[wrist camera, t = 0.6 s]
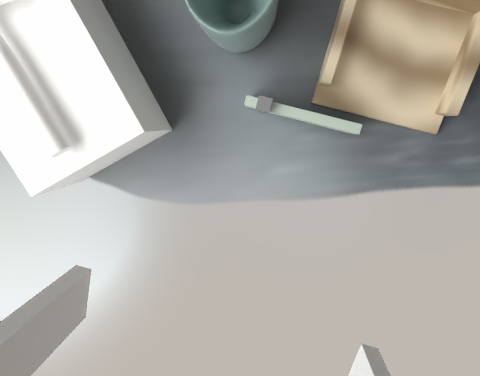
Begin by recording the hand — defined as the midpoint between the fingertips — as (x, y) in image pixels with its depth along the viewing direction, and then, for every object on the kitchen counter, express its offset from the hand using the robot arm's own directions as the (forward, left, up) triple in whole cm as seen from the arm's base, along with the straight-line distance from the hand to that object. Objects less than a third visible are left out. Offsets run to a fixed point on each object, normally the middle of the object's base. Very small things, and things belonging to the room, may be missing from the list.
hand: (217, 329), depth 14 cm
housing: (-20, +11, -24) cm, 33 cm away
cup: (-20, -6, -24) cm, 32 cm away
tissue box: (-11, -25, -25) cm, 37 cm away
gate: (-11, +3, -24) cm, 26 cm away
